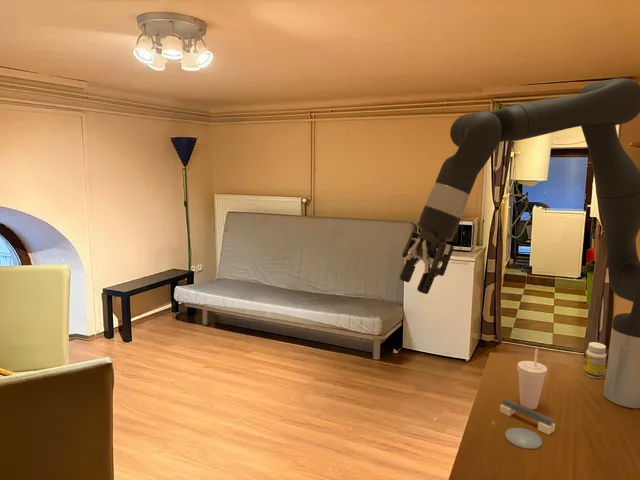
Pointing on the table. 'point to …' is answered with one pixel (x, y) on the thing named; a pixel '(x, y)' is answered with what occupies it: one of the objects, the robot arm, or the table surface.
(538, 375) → the smoothie
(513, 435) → the pad
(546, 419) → the steel bar
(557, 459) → the table surface
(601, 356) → the supplement bottle
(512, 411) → the hurdle stand
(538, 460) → the table surface
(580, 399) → the table surface
